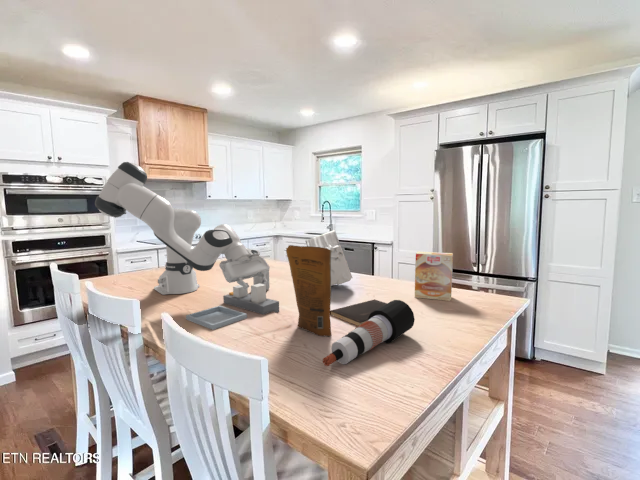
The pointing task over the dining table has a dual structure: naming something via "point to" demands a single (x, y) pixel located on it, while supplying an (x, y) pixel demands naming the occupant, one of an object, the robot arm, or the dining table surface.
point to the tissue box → (333, 256)
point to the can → (258, 279)
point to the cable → (373, 332)
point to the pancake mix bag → (312, 287)
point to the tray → (216, 317)
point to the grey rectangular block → (258, 293)
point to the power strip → (249, 301)
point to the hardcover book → (357, 311)
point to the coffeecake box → (433, 275)
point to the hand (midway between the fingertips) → (256, 285)
